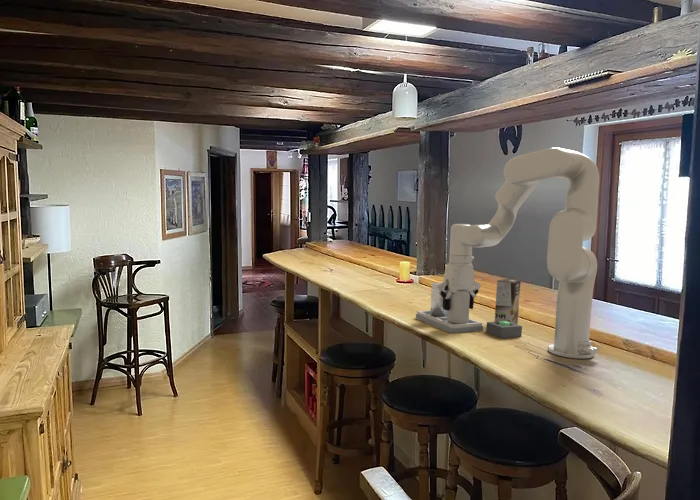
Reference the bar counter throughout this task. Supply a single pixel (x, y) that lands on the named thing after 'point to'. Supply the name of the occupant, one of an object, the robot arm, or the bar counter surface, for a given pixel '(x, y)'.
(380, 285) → the bar counter surface
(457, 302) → the can
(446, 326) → the grey compartment tray
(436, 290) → the block
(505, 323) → the button
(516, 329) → the console
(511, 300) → the coffee box
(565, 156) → the robot arm
